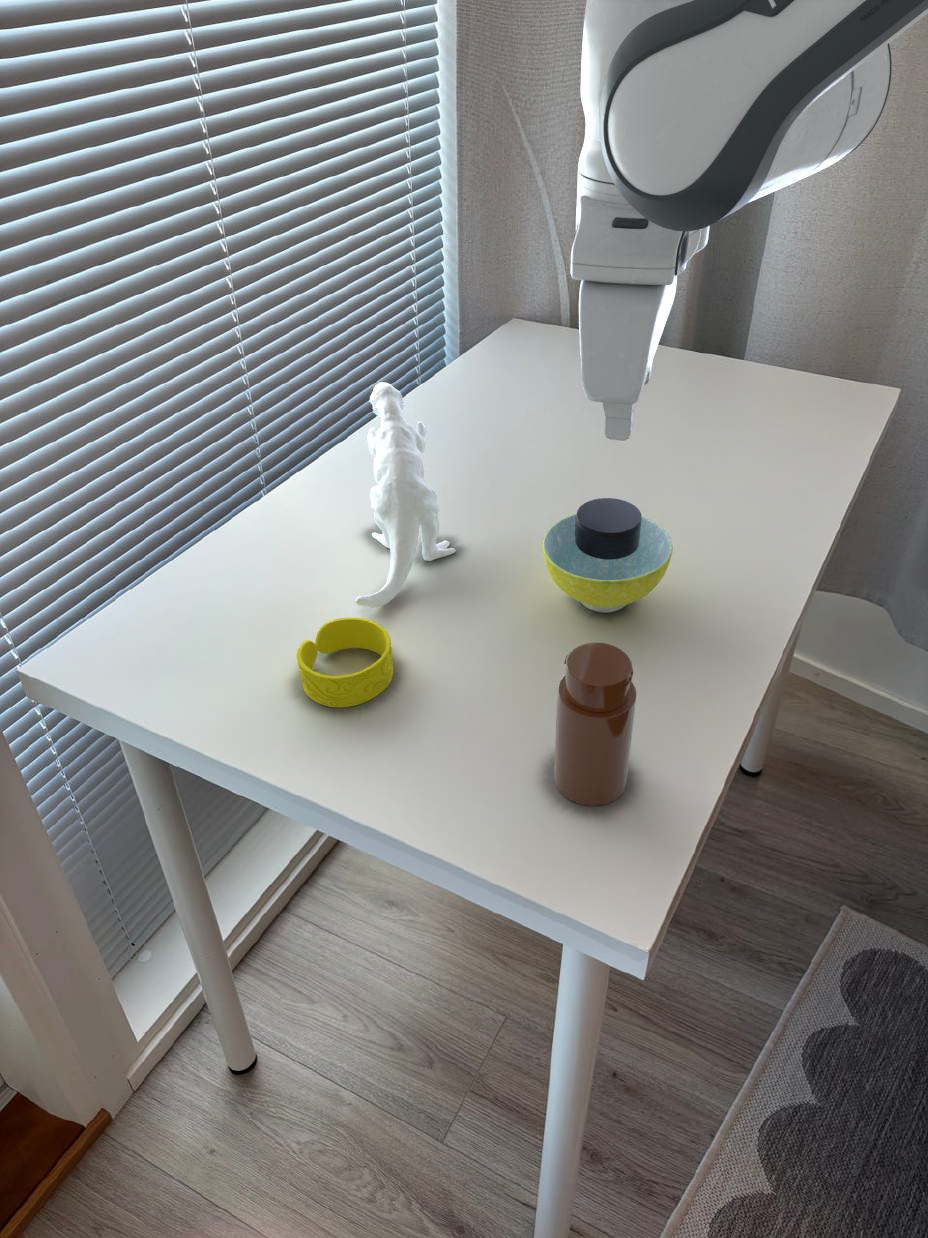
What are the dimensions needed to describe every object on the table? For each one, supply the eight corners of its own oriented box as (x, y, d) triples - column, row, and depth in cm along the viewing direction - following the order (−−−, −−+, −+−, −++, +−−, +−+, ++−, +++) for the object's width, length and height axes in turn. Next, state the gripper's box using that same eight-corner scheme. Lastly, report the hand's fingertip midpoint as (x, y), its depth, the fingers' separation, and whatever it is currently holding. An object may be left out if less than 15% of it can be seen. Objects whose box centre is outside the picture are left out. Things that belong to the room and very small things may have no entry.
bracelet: (411, 663, 82) (408, 633, 80) (355, 720, 77) (351, 690, 75) (342, 635, 85) (338, 607, 83) (285, 689, 80) (279, 660, 78)
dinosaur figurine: (381, 504, 102) (368, 374, 93) (469, 510, 100) (464, 379, 91) (327, 619, 87) (305, 479, 77) (430, 629, 85) (420, 486, 76)
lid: (568, 554, 83) (569, 527, 81) (581, 520, 87) (582, 494, 85) (633, 564, 82) (636, 536, 80) (643, 528, 86) (646, 502, 84)
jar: (631, 759, 72) (645, 644, 65) (620, 813, 68) (632, 697, 61) (562, 746, 74) (567, 631, 66) (546, 797, 70) (550, 682, 62)
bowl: (525, 574, 91) (525, 520, 87) (636, 553, 93) (641, 499, 89) (565, 648, 83) (568, 591, 79) (686, 623, 85) (695, 566, 81)
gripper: (621, 174, 72) (611, 350, 80) (564, 261, 57) (559, 466, 65) (706, 177, 70) (686, 355, 79) (671, 267, 55) (652, 476, 64)
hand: (628, 407), depth 72 cm, fingers open, 8 cm apart
